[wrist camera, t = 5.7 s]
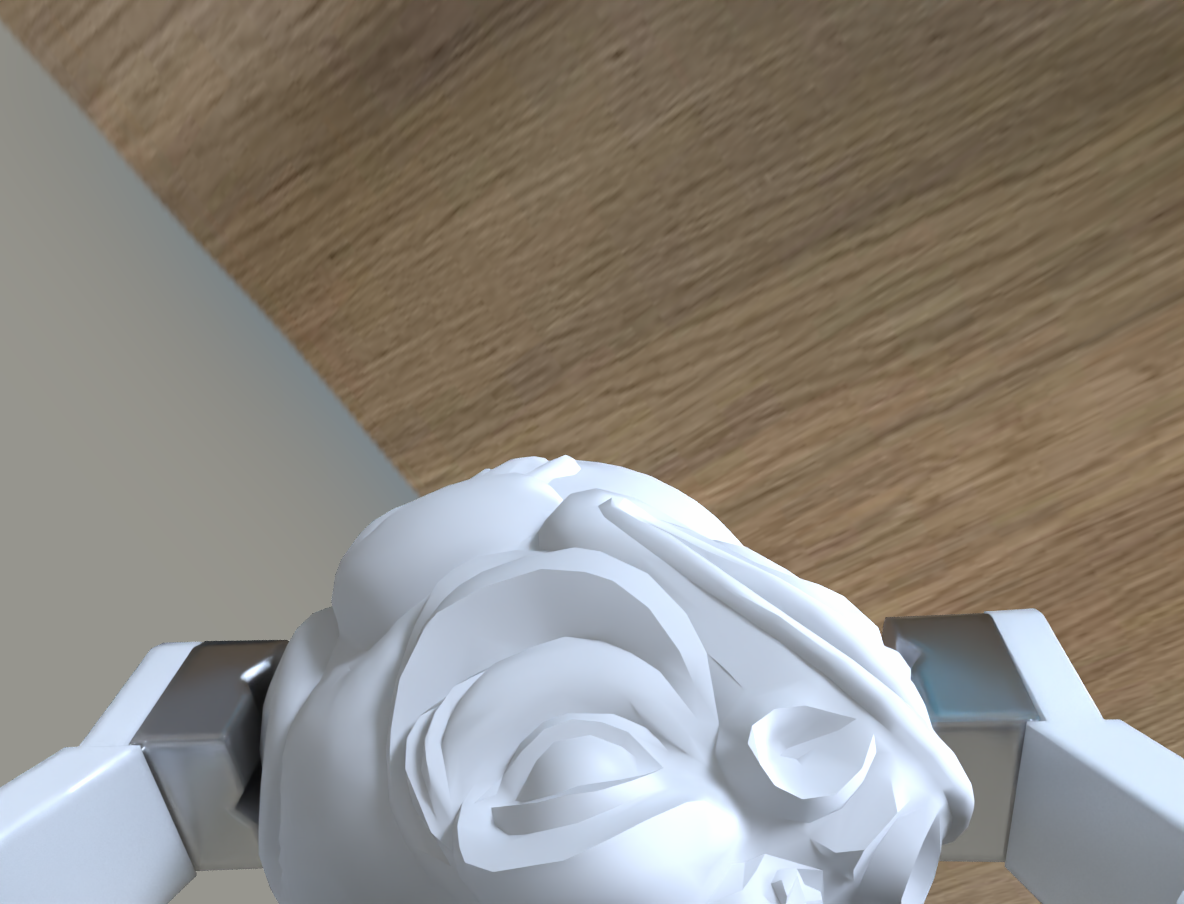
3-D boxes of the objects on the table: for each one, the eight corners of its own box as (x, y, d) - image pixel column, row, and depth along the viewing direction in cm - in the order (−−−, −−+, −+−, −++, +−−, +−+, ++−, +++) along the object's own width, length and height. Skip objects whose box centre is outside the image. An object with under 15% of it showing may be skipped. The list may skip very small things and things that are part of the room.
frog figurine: (952, 565, 12) (1237, 1179, 6) (551, 787, 15) (471, 1385, 9) (668, 202, 10) (674, 576, 4) (258, 528, 13) (-114, 1063, 7)
